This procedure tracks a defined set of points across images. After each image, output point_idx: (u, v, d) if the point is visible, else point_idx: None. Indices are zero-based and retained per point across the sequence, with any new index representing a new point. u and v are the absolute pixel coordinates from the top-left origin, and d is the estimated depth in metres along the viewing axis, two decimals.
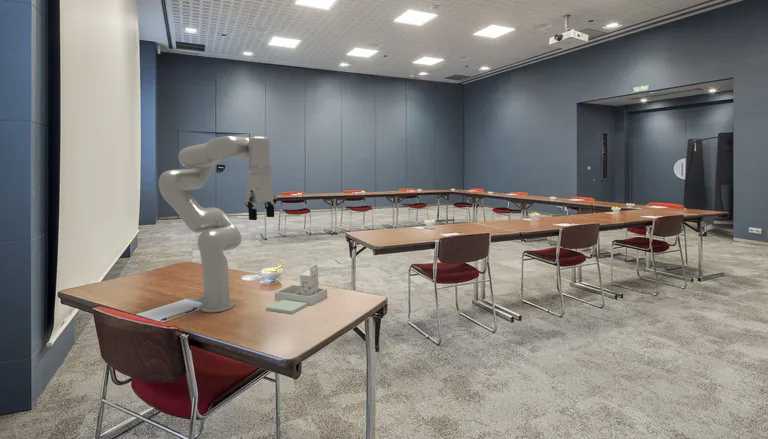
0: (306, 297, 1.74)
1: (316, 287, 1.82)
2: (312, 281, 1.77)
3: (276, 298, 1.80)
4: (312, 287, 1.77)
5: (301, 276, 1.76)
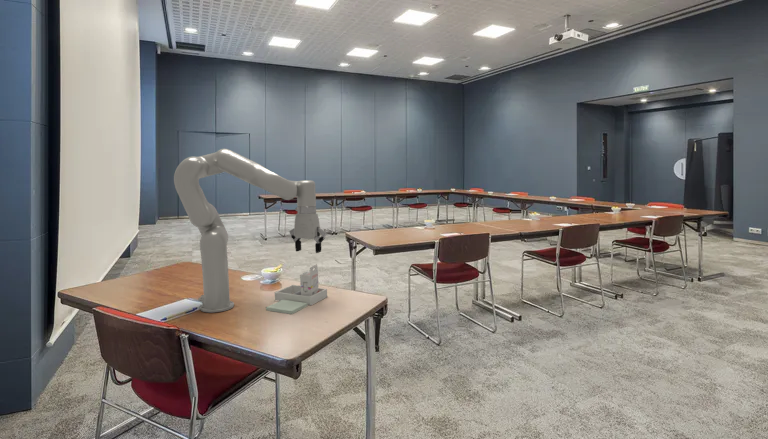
0: (306, 297, 1.74)
1: (316, 287, 1.82)
2: (312, 281, 1.77)
3: (276, 298, 1.80)
4: (312, 287, 1.77)
5: (301, 276, 1.76)
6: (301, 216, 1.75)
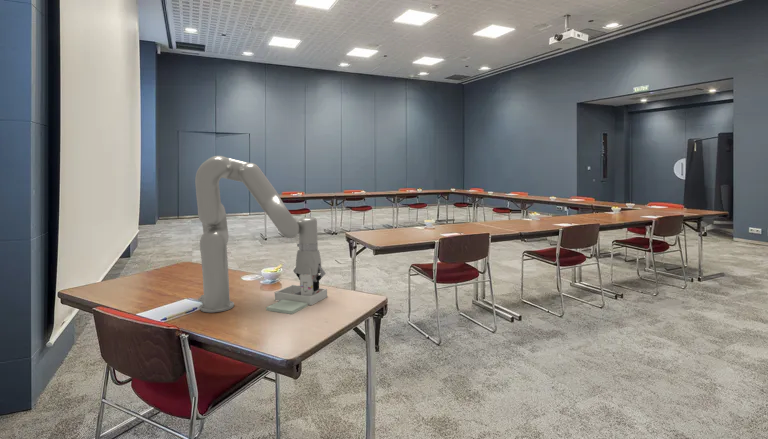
0: (306, 297, 1.74)
1: None
2: (312, 281, 1.77)
3: (276, 298, 1.80)
4: (312, 287, 1.77)
5: (301, 276, 1.76)
6: (303, 253, 1.77)
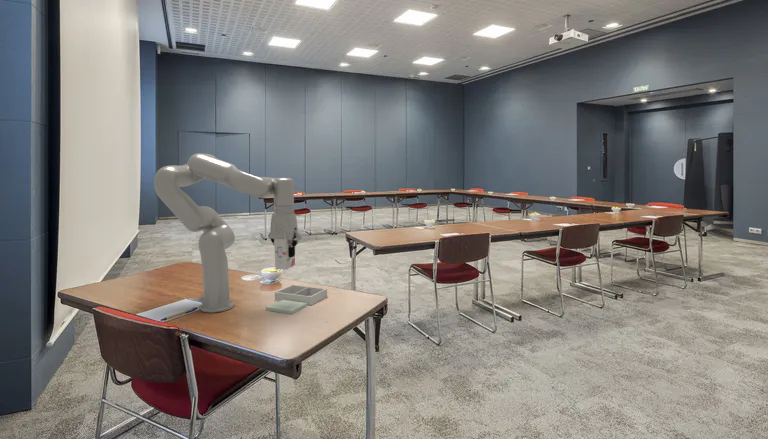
0: (306, 297, 1.74)
1: None
2: (287, 246, 1.65)
3: (276, 298, 1.80)
4: (287, 252, 1.64)
5: (275, 240, 1.64)
6: (278, 216, 1.64)
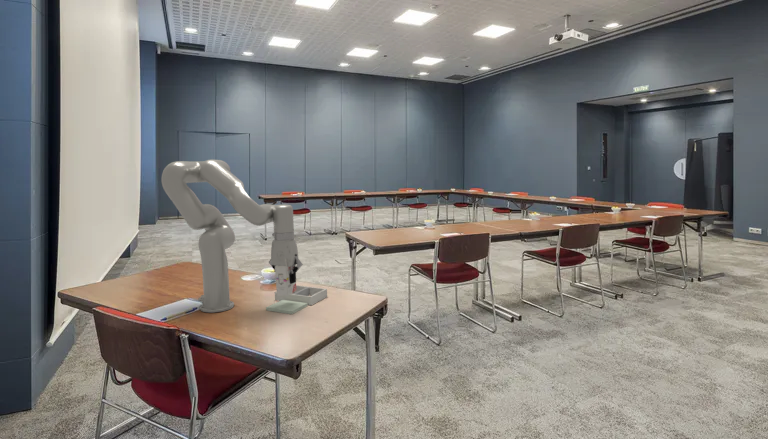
0: (306, 297, 1.74)
1: None
2: (288, 273, 1.65)
3: (276, 298, 1.80)
4: (288, 279, 1.65)
5: (276, 267, 1.65)
6: (278, 243, 1.65)
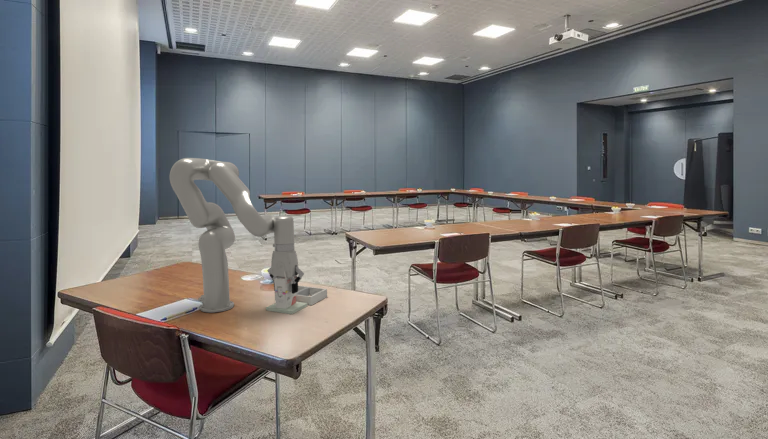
0: (306, 297, 1.74)
1: None
2: (287, 285, 1.66)
3: None
4: (287, 292, 1.66)
5: (275, 280, 1.65)
6: (278, 254, 1.66)
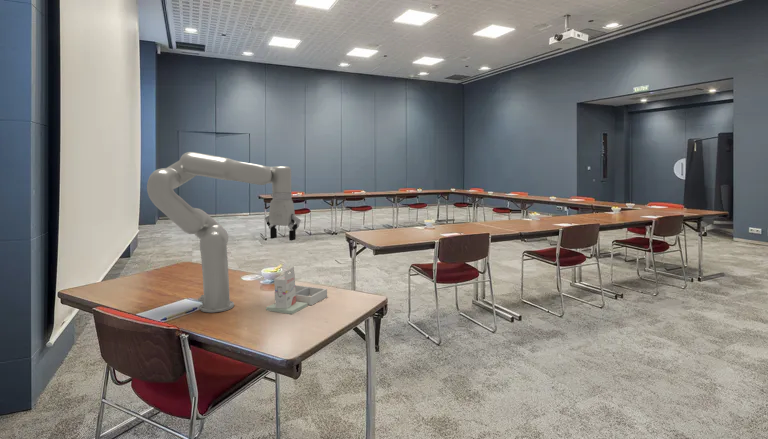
0: (306, 297, 1.74)
1: (293, 292, 1.71)
2: (287, 285, 1.66)
3: None
4: (287, 292, 1.66)
5: (275, 280, 1.65)
6: (275, 202, 1.72)
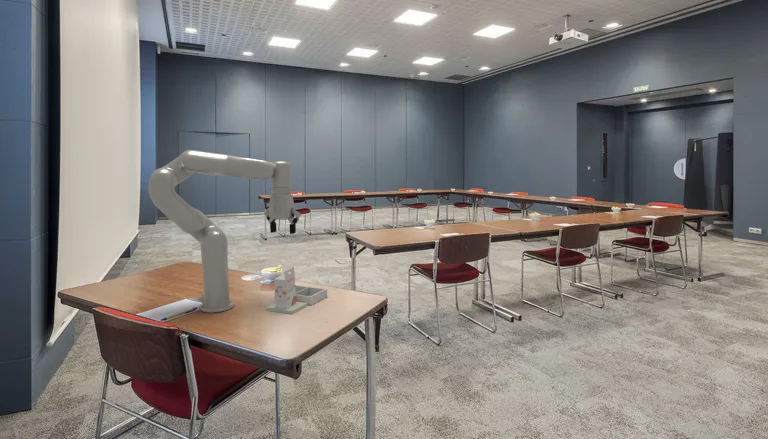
0: (306, 297, 1.74)
1: (293, 292, 1.71)
2: (287, 285, 1.66)
3: None
4: (287, 292, 1.66)
5: (275, 280, 1.65)
6: (275, 197, 1.75)
